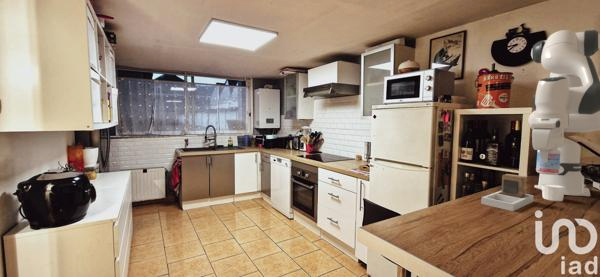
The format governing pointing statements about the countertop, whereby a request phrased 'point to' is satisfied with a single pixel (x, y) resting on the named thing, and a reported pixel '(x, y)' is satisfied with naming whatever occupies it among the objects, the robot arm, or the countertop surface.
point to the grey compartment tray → (506, 201)
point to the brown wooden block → (513, 185)
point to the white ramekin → (553, 192)
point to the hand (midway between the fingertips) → (547, 161)
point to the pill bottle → (549, 162)
